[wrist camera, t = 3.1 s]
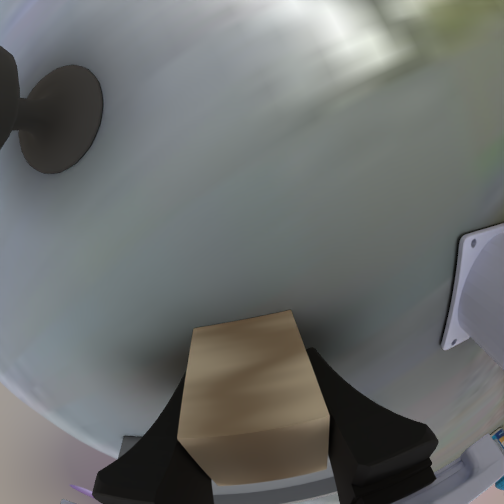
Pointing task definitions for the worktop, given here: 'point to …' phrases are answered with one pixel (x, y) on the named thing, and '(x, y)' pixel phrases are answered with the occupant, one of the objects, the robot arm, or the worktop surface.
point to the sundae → (50, 114)
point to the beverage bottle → (500, 438)
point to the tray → (267, 486)
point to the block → (253, 403)
